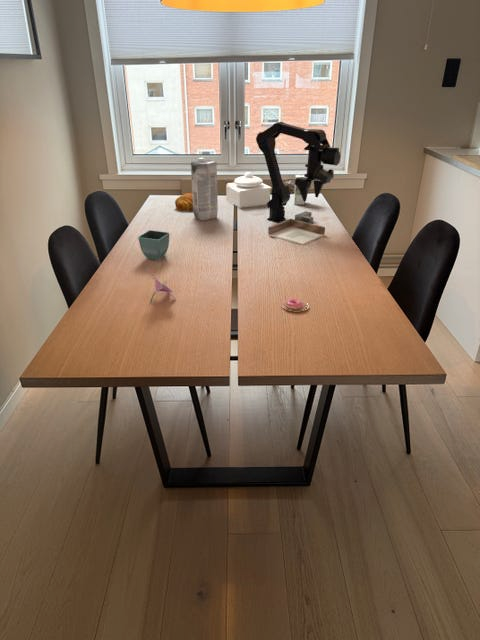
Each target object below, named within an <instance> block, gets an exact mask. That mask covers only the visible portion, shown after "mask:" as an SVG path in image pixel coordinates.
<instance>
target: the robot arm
mask: <svg viewBox="0 0 480 640" xmlns="http://www.w3.org/2000/svg"><path fill="white" fill-rule="evenodd" d="M281 134H282V135H285V136H286V135H287V136H290V137H293V138H297V139H300V140H302V141H303V142H304V143H306V144H307V145H306V146H305V147H304V148H303V150H304V151H308V154H307V163H306V164H305V163H304V165H305V166H304V167H305V168H306V173H305V174H303V175H304V177H299V178H296V177H295V179H294V186H295V185H296V186H297V187H298V189H299V191H300V193H301V196H302V198H303V201H305V202H307V199H308V192H309V189H311V188H312V186H311V185H312V183H313V189H314V197H315V198H318V197H319V196H320V193H321V190H322V189H323V187H324V185H327V183H331V180H332V179H334V176H335V175H334V172H335V170H333V169H332V168H330V169H328V170H325V169H324V165H329V166H335V167H336V166H338V165H339V163H340V161H341V157H342V156H341V152H340V147H331V145H330V143H329V141H328V138H327V135H326V134H327V133H326V132H325V130H324V129H322V128H321V129H320V128H319V129H318V128H304V127H300V126H296V125H292V124H290V123H285V122H283V121H278V122H275V123H274V124H272V125H271V126H269V127H268V128H266V129H265V130H263V131H261V132H258V133H257V135H256V137H255V142H256V144H257V147H258V149H259V150H260V151H261V152H262V154H263V156H264V159H265V160H264V161H265V163H266V167H267V170H268V174H269V178H270V182H271V185H272V189H271V191H270V196H271V198H270V201H269V202H268V203H267V205H266V206H267V208H269V212H268V213H269V214H268V215H269V216H268V217H267V219H266V220H269V221H272V222H275V223H281V222H283V221H286V220H287V218H286V217H285V213H286V211H285V206H287V204H288V202H289V201H290V200H291V192H290V187H289V185H285V183H283V179H282V178H283V177H282V175H281V171H280V167H279V163H278V158H277V156H276V152H275V150H276V139H277V138H278V137H279V136H280V135H281ZM322 163H323V164H322ZM305 177H307V178H305Z"/></svg>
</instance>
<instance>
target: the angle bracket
mask: <svg viewBox="0 0 480 640" xmlns="http://www.w3.org/2000/svg"><path fill="white" fill-rule="evenodd" d="M294 220H298V221H302V222H306V223H310V224H314V217H313V216H312V212H311V211H308V210H306V211H303V212H301V213H298V214H297V213H296V214H295V215H294Z"/></svg>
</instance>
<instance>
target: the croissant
mask: <svg viewBox="0 0 480 640" xmlns="http://www.w3.org/2000/svg"><path fill="white" fill-rule="evenodd" d="M174 204H175V205H174V206H175V208H176V209H177V211H183V212H184V211H185V212H194V211H193V196H192V192H191V193H190V192H187V193H184V194H182V195H180V196H179V197H177V198H176V199H175V201H174Z"/></svg>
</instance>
